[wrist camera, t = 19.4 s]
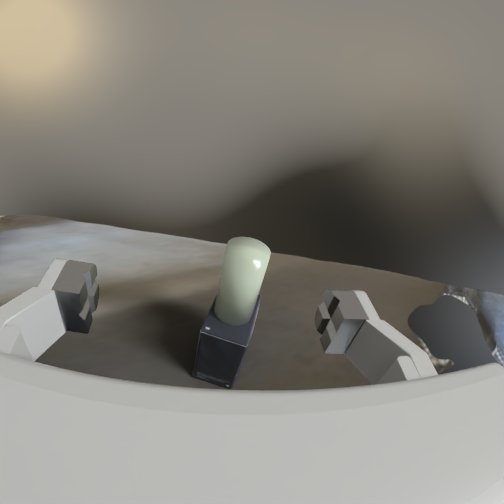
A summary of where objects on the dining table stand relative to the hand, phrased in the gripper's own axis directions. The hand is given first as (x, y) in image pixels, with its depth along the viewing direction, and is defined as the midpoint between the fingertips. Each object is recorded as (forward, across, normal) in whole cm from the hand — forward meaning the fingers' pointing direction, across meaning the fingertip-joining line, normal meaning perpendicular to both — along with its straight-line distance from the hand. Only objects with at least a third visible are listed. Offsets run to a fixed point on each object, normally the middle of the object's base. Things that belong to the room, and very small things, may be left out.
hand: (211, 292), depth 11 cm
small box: (+21, -6, +32) cm, 39 cm away
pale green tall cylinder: (+21, -6, +22) cm, 31 cm away
